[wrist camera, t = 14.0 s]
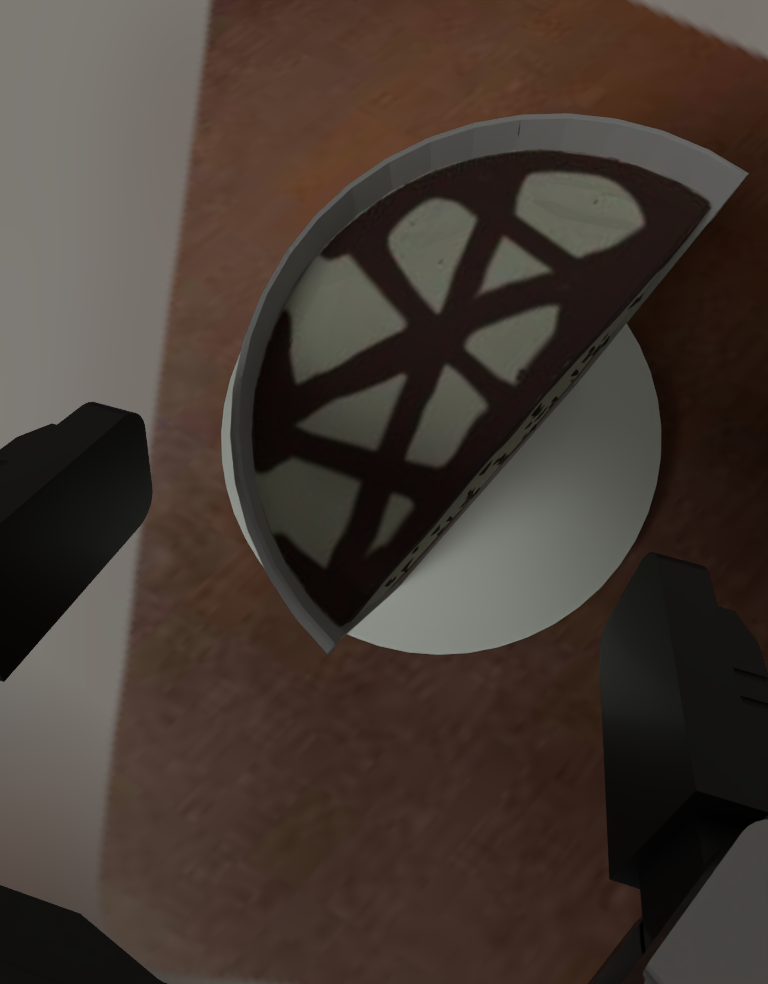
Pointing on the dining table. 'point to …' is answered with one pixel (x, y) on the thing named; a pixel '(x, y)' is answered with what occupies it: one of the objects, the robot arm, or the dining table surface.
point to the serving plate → (529, 520)
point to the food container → (443, 337)
